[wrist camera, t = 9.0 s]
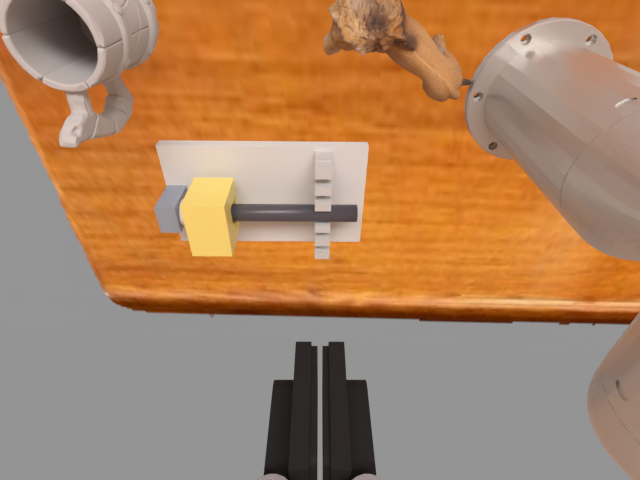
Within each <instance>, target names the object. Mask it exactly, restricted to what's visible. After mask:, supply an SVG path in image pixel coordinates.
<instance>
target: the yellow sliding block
mask: <svg viewBox="0 0 640 480" xmlns="http://www.w3.org/2000/svg"><path fill="white" fill-rule="evenodd" d="M232 204H238V203H237V196H236V189H235V182H234V178H199V177H194V179H193V181H192V183H191V185H190V187H189V189H188V191H187V193H186V195H185V197H184V199H183V201H182V203H181V205H180V209H181V213H182V217H183V221H184V224H185V228H186V232H187V236H188V240H189V244H190V248H191V252H192V256H233V253H234V249H235V245H236V242H237V238H238V234H239V230H240V226H241V224H240V221H232V215H231V206H232Z"/></svg>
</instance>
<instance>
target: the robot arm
mask: <svg viewBox="0 0 640 480" xmlns="http://www.w3.org/2000/svg"><path fill="white" fill-rule="evenodd" d="M522 36H524V38H523V39H522V40H521V38H522ZM587 38H588V39H587ZM471 81H472V82H471V84H469V87H468V90H467V94H466V98H465V108H464V111H465V121H466V124H467V127H468V130H469V132H470V134H471V135H472V137H473V138H474V140H475V141H476V142H477V144H478V145H479V146H480V147H481V148H482V149H484V150H485V151H486V152H488V153H489V154H492V155H494V156H496V157H499V158H504V159H509V160H515V161H516V162H517V164H518V165H519V166H520V167H521V168H522V169H523V171H524V172H525V173H526V174H527V175H528V176H529V178H530V179H531V180H532V181H533V182H534V184H535V185H536V186H537V187H538V188H539V189H540V191H541V192H542V193H543V194H544V195H545V196H546V198H547V199H548V200H549V201H550V202H551V203H552V205H553V206H554V207H555V208H556V209H557V211H558V212H559V213H560V214H561V215H562V216H563V218H564V219H565V220H566V221H567V222H568V223H569V225H571V226H572V228H573V229H574V230H575V231H576V232H577V233H578V235H579V236H580V237H581V238H582V239H583V240H585V241H586V242H587V243H588V244H589V245H591V246H592V247H593V248H595V249H597V250H599V251H601V252H602V253H604V254H607V255H610V256H613V257H616V258H620V259H625V260H632V261H640V73H639V72H637V71H635V70H633V69H630V68H628V67H626V66H624V65H621V64H619V63H617V62H615V61H613V54H612V51H611V48H610V46H609V43H608V41H607V40H606V39H605V37H604V36H603V34H602V33H601V32H600V31H598V30H597V29H596V28H594V27H593V26H592V25H590V24H587V23H585V22H582V21H580V20H576V19H572V18H564V17H553V18H548V19H543V20H538V21H535V22H533V23H530V24H528V25H525V26H523V27H521V28H519V29H518V30H516V31H514V32H513V33H511V34H509V35H508V36H507V37H505V38H504V39H503V40H502V41H500V42H499V43H498V44H497V45H496V46H495V47H494V48H493V49H492V50H491V51H490V52H489V53H488V54H487V55H486V56H485V58H484V59H483V61H482V62H481V63H480V65H479V66H478V68H477V69H476V71H475V73H474V75H473V77H472V79H471ZM477 92H478V93H477ZM476 93H477V95H476V96H474V94H476ZM490 143H491V144H490ZM328 344H329V345H328V346H323V347H322V348H323V349H322V449H323V450H322V451H323V452H322V454H323V480H383V479H381V478H380V477H379V476H376V466H375V456H374V447H373V437H372V428H371V418H370V408H369V398H368V389H367V382H366V380H346V364H345V347H344V342H329V343H328ZM587 408H588V415H589V419H590V422H591V424H592V427H593V429H594V431H595V433H596V435H597V437H598V439H599V441H600V442H601V444H602V445H603V447H604V448H605V450H606V451H607V452H608V454H609V455H610V456H611V457H612V458H613V460H614V461H615V462H616V463H617V464H618V465H619V466H620V467H621V468H622V470H623V471H624V472H626V473H627V474H628V475H629V476H630V477H631V478H632V479H633V480H640V312H639V313H638V315H637V316H636V317H635V318H634V320H633V321H632V322H631V324H630V325H629V326H628V327H627V329H626V330H625V331H624V333H623V334H622V335H621V337H620V338H619V339H618V340H617V342H616V343H615V344H614V346H613V347H612V348H611V350H610V351H609V352H608V354H607V355H606V357H605V358H604V359H603V361H602V362H601V364H600V365H599V367H598V368H597V370H596V372H595V373H594V375H593V377H592V380H591V382H590V384H589V389H588V394H587ZM317 443H318V347H317V346H312V343H311V342H296V347H295V364H294V380H274V383H273V389H272V399H271V408H270V418H269V428H268V437H267V447H266V456H265V466H264V476H262V477H260V478H259V479H257V480H317V455H318V453H317V451H318V449H317V448H318V444H317Z"/></svg>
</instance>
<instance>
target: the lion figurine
mask: <svg viewBox="0 0 640 480" xmlns="http://www.w3.org/2000/svg"><path fill="white" fill-rule="evenodd" d="M328 11H329V12H330V14H331V17H332V20H333V25H332V28H331V30H330V32H329V33H328V34H327V35H326V36H325V37H324V41H323V43H324V46H323V49H324V52H325V53H326V54H327V55H332V54H336V53H338V52H339V51H340V50H341V49H343V50H345V51H350V50H355V51H357V52H358V53H360V54H361V55H363V56H364V55H365V53H370V52H379V53H386V54H387V55H388V56H389V57H390V58H391V59H392V60H393V61H394V62H395V63H396V64H398V65H399V66H401V67H402V68H404V69H405V70H407V71H409V72H410V73H412V74H414V75H416V76H418V77H419V78H421V79H422V81H423V83H422V88H423V90H424V91H425V93H426V94H427V96H428V97H430V98H431V99H433V100H436V101H439V102H445V101H446V100H447V99H449V98H450V99H453V100H457V99H459V97H460V92H459V88H460V87H461V86H465V85H469V84H471V82H472V81H471V80H468V79H465V78H464V79H462V71H461V67H460V65H459V63H458V61H457V60H456V58H455V57H454V56H453V55H452V54H451V53H450V52H448V50H447V48H446V44H445V39H444V36H443V35H442V34H436V35H435V36H434V37H433V38H431V37H430V36H429V34H428V33H427V31H426V30H425V29H424V28H423V27H422V25H420V24H419V23H418V22H417V21H416V20H415V19H413V18H412V17H410V16H408V14H407V12H406V10H405V8H404V7H403V4H402V1H401V0H336V1H335V2H334V3H332V4H331V6H330V7H329V8H328Z"/></svg>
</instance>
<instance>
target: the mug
mask: <svg viewBox="0 0 640 480" xmlns="http://www.w3.org/2000/svg"><path fill="white" fill-rule="evenodd" d="M156 14H157V11H156V8H155V5H154V3H153V1H152V0H0V30H1V33H3V34H4V35H3V36H2V39H3V41H4V44H5V45H6V47H7V49H8V51H9V52H10V54H11V55H12V56H13V58H14V59H15V60H16V61H17V63H18V64H19V65H20V66H21V67H22V68H23V69H24V70H25V71H26V72H27V73H28V74H30V75H31V76H32V77H34V78H35V79H37V80H38V81H42V80H43V83H44V84H46V85H48V86H50V87H52V88H55V89H57V90H61V91H65V93H66V97H67V101H68V104H69V107H70V109H71V114H70V115H69V116H68V117H67V119H66V120H65V122H64V124H63V126H62V128H61V131H60V134H59V143H60V146H61V147H66V148H76V147H78V146H79V145H80V144H81V143H82V142H83V141H86V140H92V139H95V138H103V137H107V136H110V135H114V134H116V133H118V132H120V131H121V129H122V128H123V127H124V126H125V124H126V123H127V122H128V120H129V119H130V117H131V114H132V112H133V108H132V104H133V101H134V98H133V95H132V94H131V92H130V91H129V90H128V89H127V88H126V86H125V84H124V82H123V81H122V79H121V76H120V74H121V73H122V72H123V71H124V70H127V69H131V68H134V67H137V66H139V65H140V64H142V63H143V62H145V61H146V60H147V59H148V58H149V57H150V55H151V54H152V53H153V52H154V49H155V46H156V43H157V39H158V34H159V22H157V15H156ZM98 84H104V87H105V88H106V90H107V93H108V96H106V98H105V105H104V108H103V109H104V112H102V113H101V114H100V115H99V114H97V113H95V112H94V111H93V108H92V105H91V102H90V98H89V94H88V90H87V89H89V88H91V87H93V86H95V85H98Z"/></svg>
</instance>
